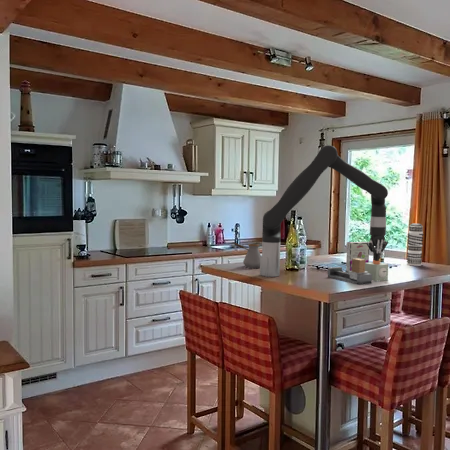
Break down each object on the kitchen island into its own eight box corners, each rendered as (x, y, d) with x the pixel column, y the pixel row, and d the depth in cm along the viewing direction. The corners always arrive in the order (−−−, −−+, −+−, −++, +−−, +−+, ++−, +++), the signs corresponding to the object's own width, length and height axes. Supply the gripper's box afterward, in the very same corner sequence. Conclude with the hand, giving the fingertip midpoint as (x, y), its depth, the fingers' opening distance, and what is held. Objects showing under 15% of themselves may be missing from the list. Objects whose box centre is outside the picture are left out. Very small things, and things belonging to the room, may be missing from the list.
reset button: (376, 269, 234) (376, 261, 234) (371, 268, 237) (371, 260, 237) (381, 268, 236) (381, 260, 235) (376, 267, 239) (376, 259, 238)
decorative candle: (418, 263, 293) (420, 223, 291) (424, 266, 284) (426, 224, 282) (403, 263, 293) (405, 223, 291) (409, 265, 284) (411, 224, 282)
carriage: (357, 280, 224) (357, 260, 223) (348, 278, 229) (348, 258, 228) (367, 279, 227) (368, 259, 226) (358, 277, 232) (359, 257, 232)
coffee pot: (254, 265, 275) (254, 239, 274) (267, 267, 266) (268, 241, 265) (225, 268, 262) (225, 241, 261) (238, 271, 253) (238, 243, 252)
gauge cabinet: (376, 281, 231) (377, 265, 230) (363, 278, 238) (364, 262, 238) (388, 280, 235) (389, 264, 234) (375, 277, 242) (376, 261, 241)
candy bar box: (364, 271, 261) (365, 241, 260) (368, 272, 256) (369, 242, 255) (345, 271, 259) (346, 241, 258) (349, 273, 254) (350, 242, 253)
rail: (359, 284, 222) (359, 275, 221) (327, 276, 241) (328, 267, 241) (371, 283, 226) (372, 273, 225) (339, 275, 245) (340, 266, 245)
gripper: (381, 225, 241) (380, 258, 242) (362, 225, 235) (361, 260, 236) (393, 226, 235) (391, 260, 236) (374, 226, 228) (372, 262, 229)
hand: (376, 260), depth 236 cm, fingers closed
